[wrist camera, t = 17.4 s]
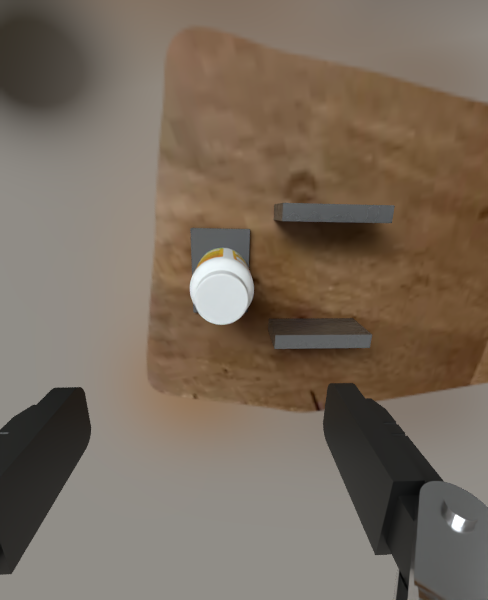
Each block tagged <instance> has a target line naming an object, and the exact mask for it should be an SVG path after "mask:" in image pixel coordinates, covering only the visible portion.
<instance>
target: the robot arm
mask: <svg viewBox="0 0 488 600" xmlns="http://www.w3.org/2000/svg"><path fill="white" fill-rule="evenodd" d="M323 428H324V435H325V439H326V441H327V444H328V446H329V449H330V451H331V453H332V456H333V458H334V460H335V462H336V465H337V467H338V469H339V472H340V474H341V476H342V479H343V481H344V483H345V486H346V488H347V490H348V492H349V495H350V497H351V500H352V502H353V504H354V506H355V509H356V511H357V514H358V516H359V518H360V521H361V523H362V525H363V528H364V530H365V532H366V534H367V537H368V539H369V541H370V544H371V546H372V548H373V551H374V553H375V555H387V554H392V556H393V558H394V560H395V562H396V564H397V566H398V570H397V575H396V582H395V591H394V600H488V507H487V506H486V505H485V504H484V503H483V502H481V501H480V500H479V499H478V498H477V497H475V496H474V495H472V494H471V493H469V492H468V491H466V490H464V489H462V488H460V487H458V486H456V485H453V484H451V483H447V482H444V481H443V480H442V479H441V477H440V476H439V475H438V474H437V472H436V471H435V470H434V469H433V468H432V466H431V465H430V464H429V462H428V461H427V460H426V459H425V457H424V456H423V455H422V454H421V453H420V451H419V450H418V449H417V448H416V446H415V445H414V444H413V442H412V441H411V440H410V439H409V437H408V436H405V432H404V431H403V430H402V429H401V427H400V426H399V425H397V424H396V421H395V420H394V419H393V418H392V416H391V415H390V414H389V413H388V411H387V410H386V409H385V408H383V407H382V406H381V405H379V404H378V403H377V402H375V401H374V400H372V399H365V398H364V396H363V395H362V394H361V392H360V391H359V390H358V388H357V387H356V386H355V384H353V383H331V384H329V386H328V389H327V397H326V404H325V412H324V420H323ZM90 435H91V424H90V419H89V413H88V408H87V402H86V397H85V392H84V390H83V389H82V388H81V387H74V388H73V387H72V388H71V387H70V388H69V387H68V388H53V389H52V390H51V391H50V392H49V393H48V394H47V395H46V396H45V397H44V398H43V399H42V400H41V401H40V402H39V403H38V404H37V405H32V406H31V407H29V408H27V409H26V410H24V411H23V412H21V413H20V414H18V415H16V416H14V417H13V418H12V419H11V420H10V421H9V422H8V423H7V424H6V425H5V426H4V427H3V428H2V429H1V430H0V574H12V572H13V570H14V569H15V567H16V565H17V564H18V562H19V560H20V559H21V557H22V555H23V554H24V552H25V550H26V548H27V547H28V545H29V543H30V542H31V540H32V539H33V537H34V535H35V534H36V532H37V530H38V528H39V527H40V525H41V523H42V522H43V520H44V518H45V517H46V515H47V513H48V512H49V510H50V508H51V507H52V505H53V503H54V502H55V500H56V498H57V496H58V495H59V493H60V491H61V490H62V488H63V486H64V485H65V483H66V481H67V480H68V478H69V476H70V475H71V473H72V471H73V470H74V468H75V466H76V465H77V463H78V461H79V460H80V458H81V456H82V455H83V453H84V451H85V450H86V448H87V445H88V443H89V439H90Z"/></svg>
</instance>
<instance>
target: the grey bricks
mask: <svg viewBox="0 0 488 600" xmlns="http://www.w3.org/2000/svg"><path fill="white" fill-rule="evenodd" d="M394 207H395V206H389V205H346V204H303V203H280V204H275V205H274V220H279V221H304V222H356V223H392V218H393V212H394ZM268 332H269V335H270V337H271V340H272V343H273V346H274V349H304V348H370V344H371V338H372V334H371V333H370V332H368V331H367V330H366V329H365V328H364V327H363V326H361V325H360V324H359V323H358V322H357V321H355V320H354V319H353V318H339V319H269V324H268Z"/></svg>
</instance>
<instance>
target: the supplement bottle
mask: <svg viewBox="0 0 488 600" xmlns="http://www.w3.org/2000/svg"><path fill="white" fill-rule="evenodd" d="M190 295H191V298H192V301H193V303H194V305H195V306H196V309H197V311H198V312H199V314H200V315H201V316H202V317H203V318H204V319H205V320H207V321H208V322H210V323H213V324H218V325H226V324H230V323H233V322H235V321H236V320H238V319H239V318H240V317H241V316H242V315H243V314H244V313H245V311H246V309H247V308H248V307H249V305H250V303H251V301H252V299H253V295H254V284H253V279H252V276H251V274H250V271H249V269H248V266H247V264H246V262H245V260H244V259H243V257H242V256H241V255H240V254H239V253H237V252H236V251H234V250H232V249H229V248H217V249H213V250H211V251H209V252H208V253H206V254H205V255H204V256H203V257H202V259H201V260H200V262H199V264H198V266H197V268H196V270H195V271H194V273H193V275H192V278H191V282H190Z"/></svg>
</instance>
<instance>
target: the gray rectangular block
mask: <svg viewBox="0 0 488 600" xmlns="http://www.w3.org/2000/svg"><path fill="white" fill-rule="evenodd" d="M249 242H250V229H209V228H191V255H192V275H193V273H194V271H195V270H196V268H197V266H198V264H199V262H200V260H201V259H202V257H203V256H204V255H205V254H206V253H208V252H209V251H211V250H213V249H217V248H229V249H232V250H234V251H236V252H237V253H239V254H240V255H241V256H242V257H243V259H244V260H245V262H246V264H247V266H248V269H249ZM193 309H194V312H198V311H197V309H196V306H195V305H194V303H193ZM245 312H248V308H247V309H246V311H245Z"/></svg>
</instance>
